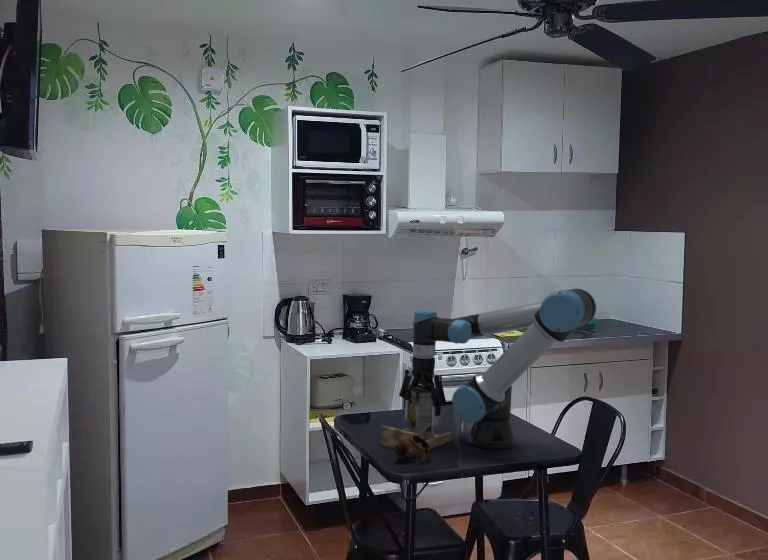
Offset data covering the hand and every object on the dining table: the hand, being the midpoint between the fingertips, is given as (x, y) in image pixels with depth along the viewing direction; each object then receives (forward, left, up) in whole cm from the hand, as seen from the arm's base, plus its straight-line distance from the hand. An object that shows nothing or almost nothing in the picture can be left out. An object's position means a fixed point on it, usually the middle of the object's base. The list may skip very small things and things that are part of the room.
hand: (421, 421), depth 238 cm
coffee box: (0, 0, -5) cm, 5 cm away
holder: (0, +4, -6) cm, 7 cm away
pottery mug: (-9, +18, -7) cm, 22 cm away
